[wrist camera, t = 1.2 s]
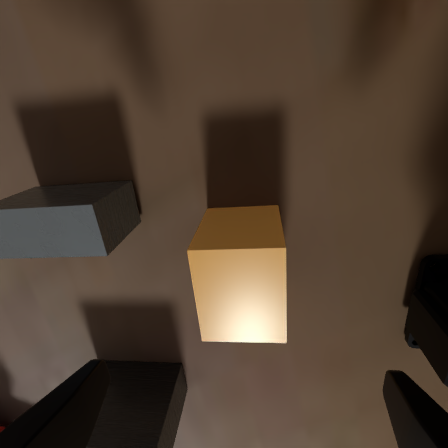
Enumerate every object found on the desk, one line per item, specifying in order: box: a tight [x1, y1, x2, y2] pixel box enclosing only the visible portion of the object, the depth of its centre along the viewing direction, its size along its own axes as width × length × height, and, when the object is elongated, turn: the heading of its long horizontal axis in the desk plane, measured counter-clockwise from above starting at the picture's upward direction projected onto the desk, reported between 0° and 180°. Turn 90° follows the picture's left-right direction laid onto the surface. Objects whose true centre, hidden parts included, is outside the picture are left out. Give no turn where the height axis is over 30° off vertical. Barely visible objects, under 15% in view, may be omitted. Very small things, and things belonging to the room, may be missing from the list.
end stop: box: [86, 361, 187, 448], centre depth 20 cm, size 7×3×6 cm, turn 95°
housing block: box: [187, 205, 287, 343], centre depth 14 cm, size 4×5×5 cm
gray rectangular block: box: [0, 180, 141, 259], centre depth 14 cm, size 6×2×4 cm, turn 95°
